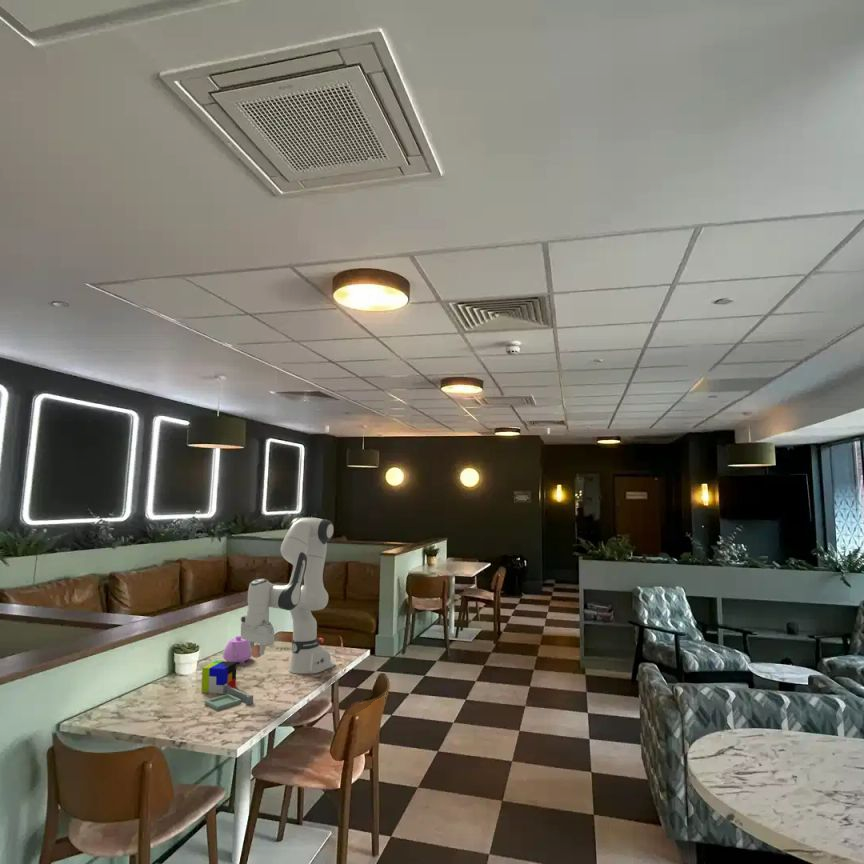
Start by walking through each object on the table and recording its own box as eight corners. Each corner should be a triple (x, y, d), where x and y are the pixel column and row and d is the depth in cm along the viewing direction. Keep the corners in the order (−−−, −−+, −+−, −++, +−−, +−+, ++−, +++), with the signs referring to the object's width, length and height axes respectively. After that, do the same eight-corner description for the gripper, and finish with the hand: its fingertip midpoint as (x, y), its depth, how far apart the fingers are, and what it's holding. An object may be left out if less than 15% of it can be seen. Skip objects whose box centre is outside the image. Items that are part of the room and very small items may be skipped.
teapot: (246, 667, 271) (247, 641, 272) (216, 668, 270) (217, 642, 271) (256, 655, 291) (257, 631, 292) (228, 656, 289) (229, 632, 291)
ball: (258, 655, 237) (259, 642, 238) (265, 657, 234) (265, 644, 235) (248, 657, 234) (248, 645, 234) (254, 659, 230) (255, 647, 231)
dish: (228, 697, 230) (228, 693, 231) (241, 703, 224) (241, 699, 224) (204, 704, 223) (204, 700, 223) (217, 710, 216) (217, 706, 217)
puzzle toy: (222, 693, 235) (223, 668, 236) (201, 692, 237) (202, 667, 238) (235, 685, 245) (236, 662, 246) (215, 684, 247) (215, 660, 248)
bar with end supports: (228, 692, 236) (228, 685, 237) (253, 703, 224) (253, 695, 224) (223, 694, 235) (223, 686, 235) (247, 704, 222) (247, 697, 223)
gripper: (278, 621, 231) (277, 656, 230) (251, 614, 244) (250, 647, 243) (265, 624, 226) (264, 659, 225) (238, 617, 240) (237, 650, 238)
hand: (257, 653), depth 234 cm, fingers closed on ball, 5 cm apart
